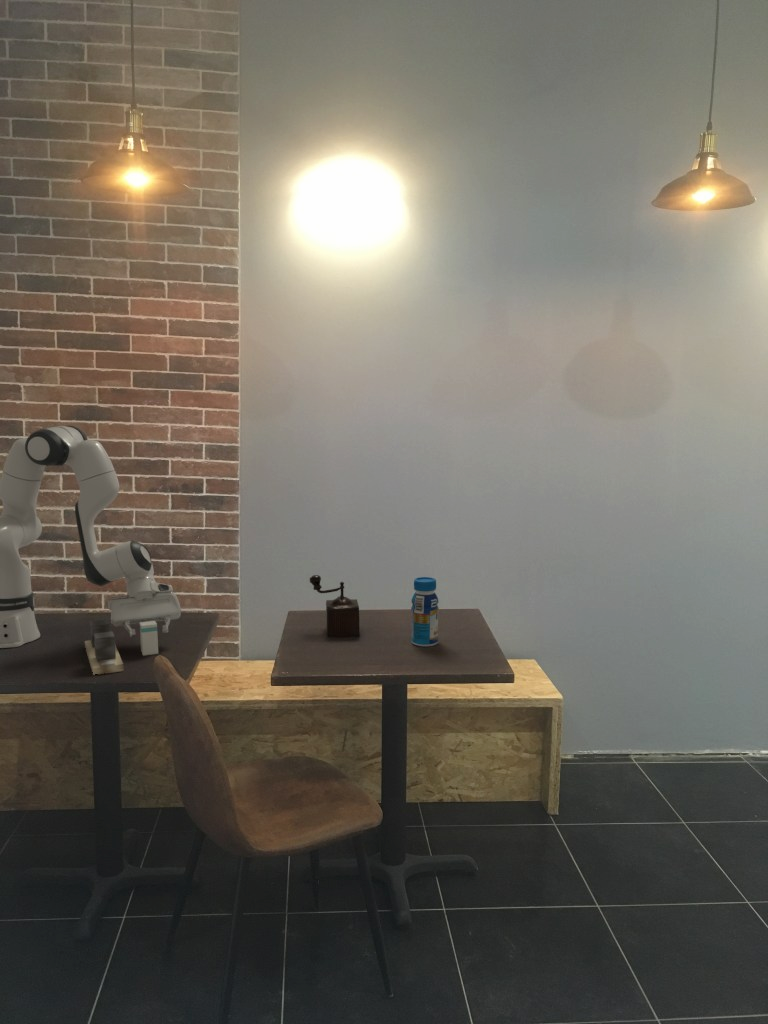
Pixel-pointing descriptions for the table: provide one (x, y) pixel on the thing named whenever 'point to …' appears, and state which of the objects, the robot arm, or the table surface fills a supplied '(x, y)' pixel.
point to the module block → (149, 638)
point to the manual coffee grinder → (339, 612)
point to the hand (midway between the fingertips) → (149, 633)
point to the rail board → (96, 663)
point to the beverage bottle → (424, 612)
